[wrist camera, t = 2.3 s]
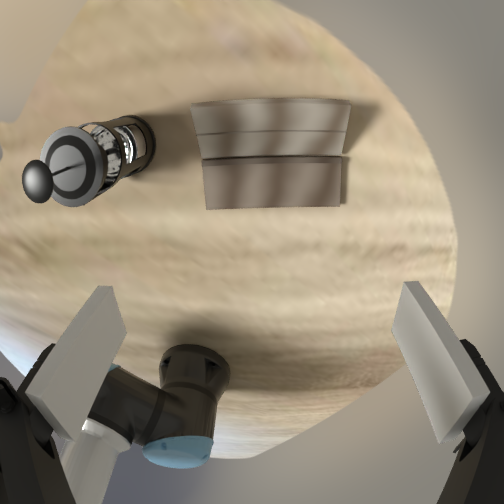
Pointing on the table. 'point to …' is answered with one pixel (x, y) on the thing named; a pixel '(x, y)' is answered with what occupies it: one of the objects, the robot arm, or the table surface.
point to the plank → (271, 127)
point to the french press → (87, 161)
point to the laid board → (272, 182)
